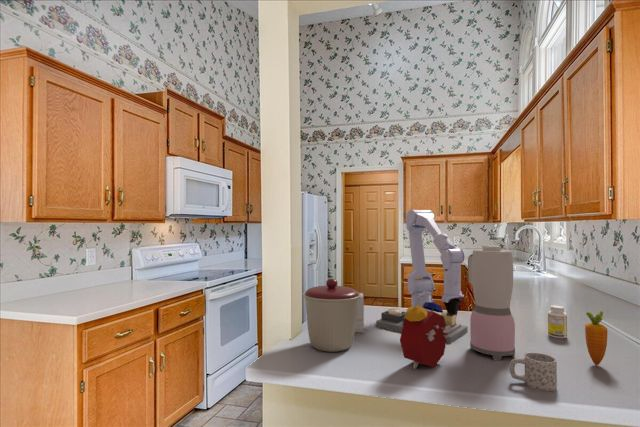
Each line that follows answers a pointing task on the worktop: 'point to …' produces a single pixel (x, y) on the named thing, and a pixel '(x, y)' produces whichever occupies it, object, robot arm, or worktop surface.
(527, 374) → the mug
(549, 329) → the supplement bottle
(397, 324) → the control panel
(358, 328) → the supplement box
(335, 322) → the canister
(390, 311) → the cream button
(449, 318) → the pale yellow cube
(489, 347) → the blender
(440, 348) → the alarm clock
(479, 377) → the worktop surface
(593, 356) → the carrot
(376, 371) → the worktop surface
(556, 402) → the worktop surface
